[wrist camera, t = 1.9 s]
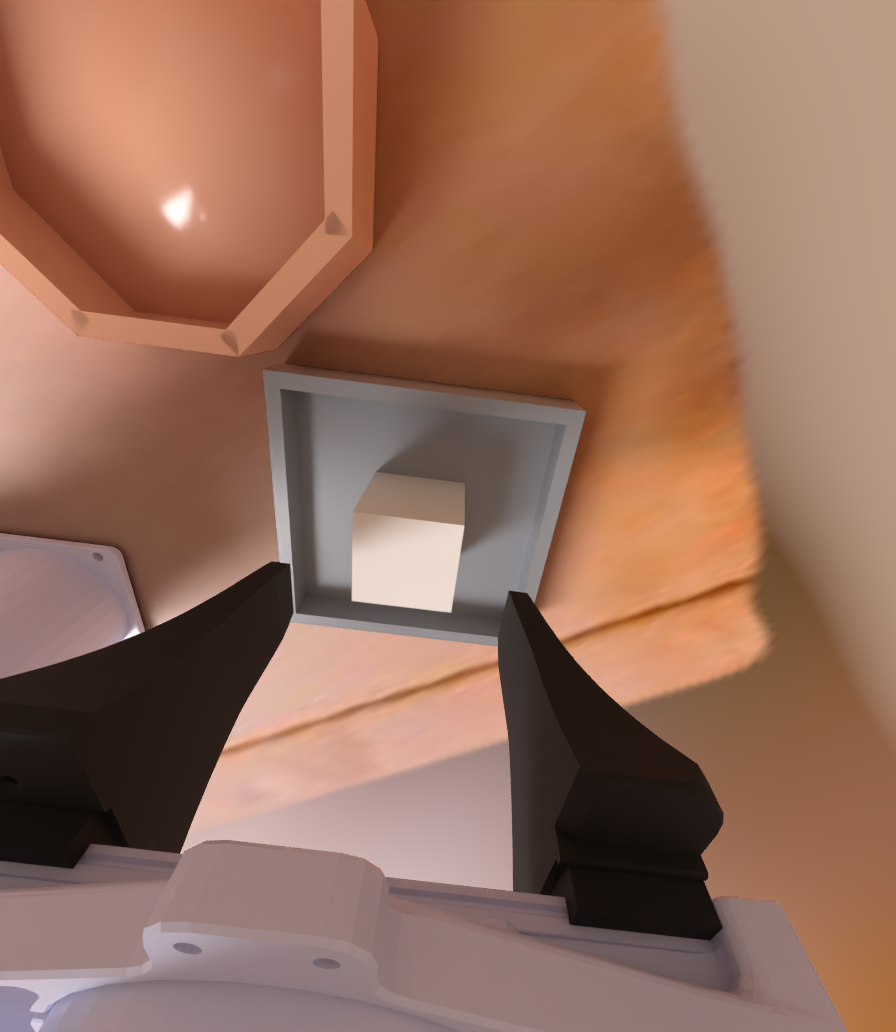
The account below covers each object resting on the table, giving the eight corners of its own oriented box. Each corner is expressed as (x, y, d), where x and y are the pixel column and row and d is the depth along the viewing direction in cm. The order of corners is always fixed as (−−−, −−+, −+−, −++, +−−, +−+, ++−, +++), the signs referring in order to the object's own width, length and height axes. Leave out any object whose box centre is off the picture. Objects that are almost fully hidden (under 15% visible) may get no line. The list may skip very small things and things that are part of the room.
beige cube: (372, 548, 20) (351, 600, 16) (375, 471, 18) (352, 512, 14) (453, 558, 20) (451, 612, 16) (464, 483, 18) (464, 525, 14)
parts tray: (299, 596, 22) (284, 621, 20) (284, 363, 17) (262, 369, 15) (517, 622, 22) (522, 649, 20) (573, 400, 17) (586, 411, 15)
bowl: (46, 320, 16) (-38, 321, 13) (-125, -246, 10) (-334, -442, 8) (370, 361, 16) (351, 371, 14) (384, -168, 10) (356, -334, 8)
